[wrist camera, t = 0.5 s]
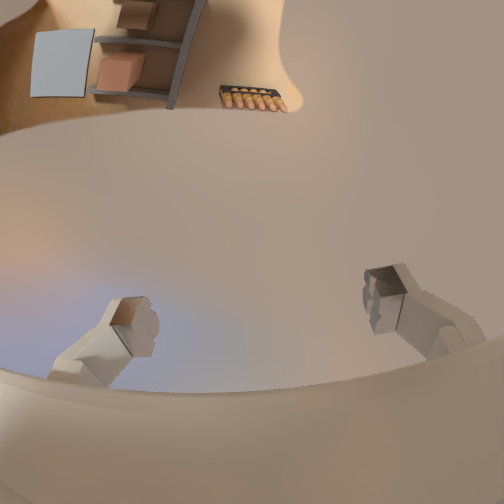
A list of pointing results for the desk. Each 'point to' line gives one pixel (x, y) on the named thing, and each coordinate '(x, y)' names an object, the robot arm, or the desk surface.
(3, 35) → the desk surface
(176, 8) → the desk surface
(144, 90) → the lane rack
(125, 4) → the walnut block
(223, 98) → the ammunition clip
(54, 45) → the slate mat
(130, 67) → the terracotta block
